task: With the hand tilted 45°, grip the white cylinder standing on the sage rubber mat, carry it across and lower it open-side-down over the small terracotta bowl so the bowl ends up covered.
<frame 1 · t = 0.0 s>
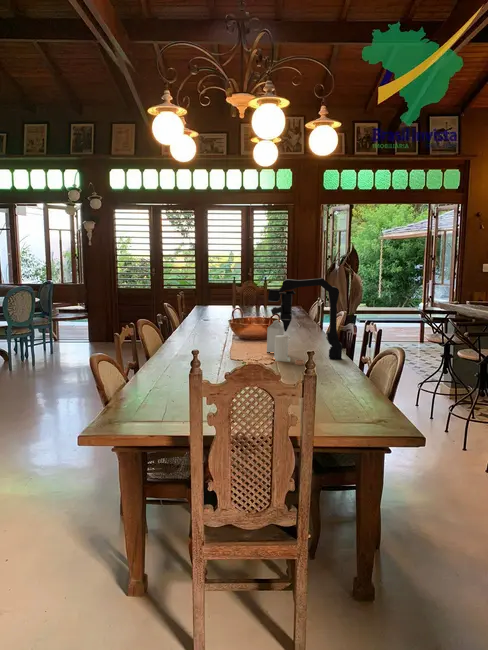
hand: (285, 330, 273), 15 cm above the table, tool pointing down, fingers open, 9 cm apart
mat: (280, 359, 266), on the table
bowl: (299, 364, 256), on the table
white cylinder: (280, 359, 266), resting on mat
milk carton: (274, 353, 282), on the table
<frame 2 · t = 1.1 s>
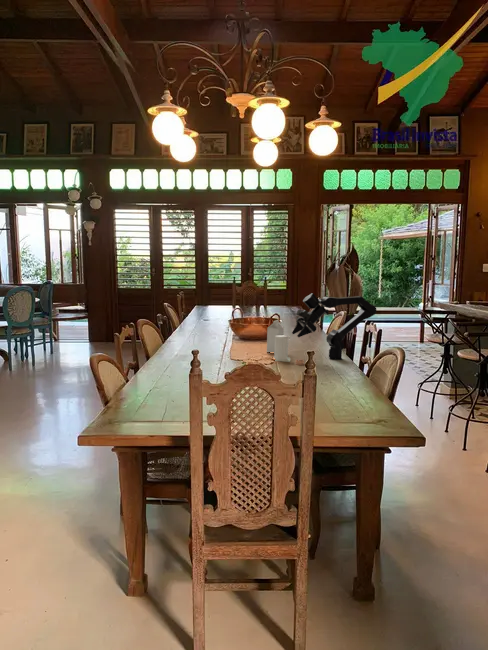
hand: (295, 335, 265), 13 cm above the table, tool tilted 45°, fingers open, 9 cm apart
nothing on the table moved.
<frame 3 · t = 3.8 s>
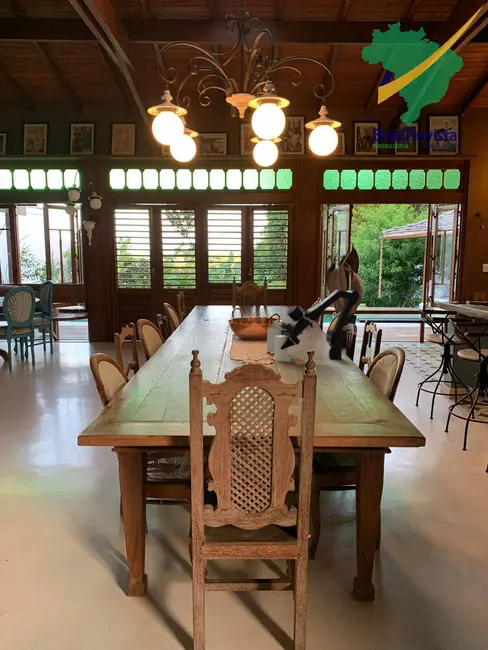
hand: (278, 347, 264), 7 cm above the table, tool tilted 45°, fingers closed on white cylinder, 7 cm apart
white cylinder: (280, 359, 266), resting on mat, touching gripper
everything else where it was.
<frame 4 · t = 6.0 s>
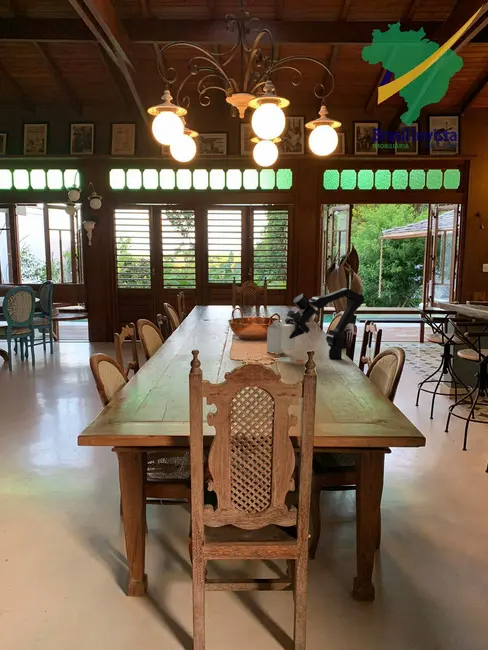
hand: (286, 337, 259), 13 cm above the table, tool tilted 45°, fingers closed on white cylinder, 7 cm apart
white cylinder: (288, 348, 260), point 7 cm above the table, touching gripper
everything else where it was.
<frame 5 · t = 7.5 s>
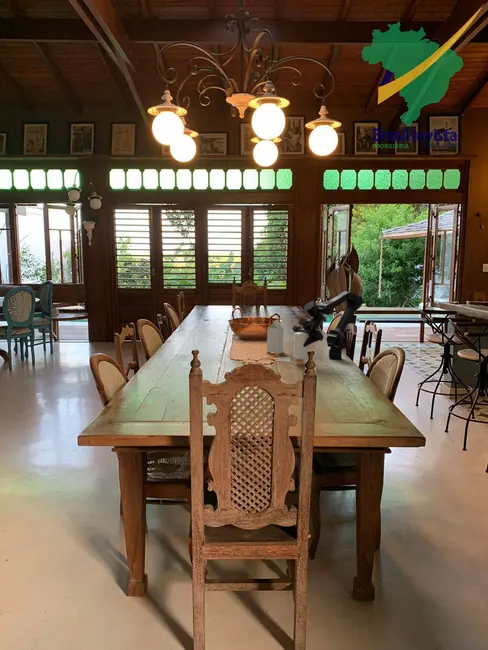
hand: (298, 345, 253), 10 cm above the table, tool tilted 45°, fingers closed on white cylinder, 7 cm apart
white cylinder: (300, 356, 255), point 4 cm above the table, touching gripper
everything else where it was.
when the fingers open (8 cm above the table, at t = 8.6 s): white cylinder drops 1 cm, on the table.
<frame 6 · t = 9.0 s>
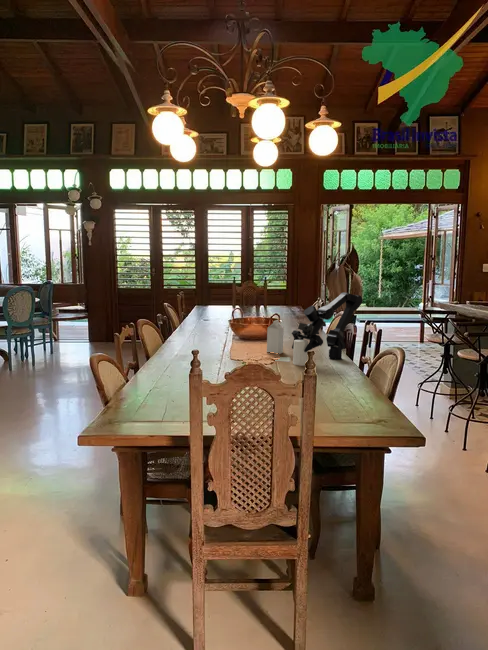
hand: (298, 350, 254), 8 cm above the table, tool tilted 45°, fingers open, 9 cm apart
white cylinder: (299, 364, 256), on the table
everything else where it was.
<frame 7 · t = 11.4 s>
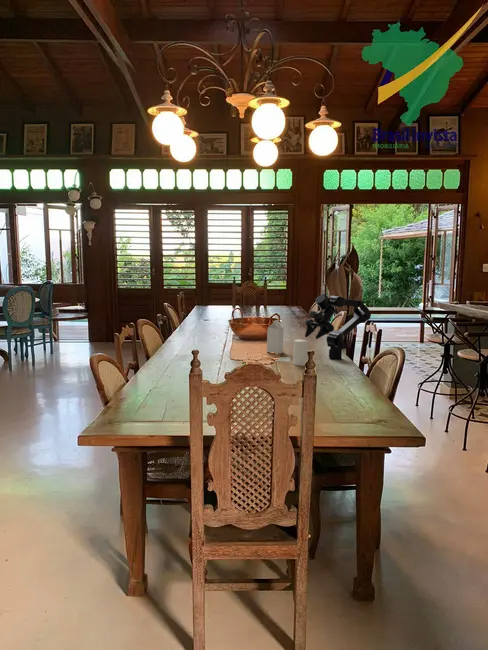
hand: (310, 337, 259), 13 cm above the table, tool tilted 40°, fingers open, 9 cm apart
nothing on the table moved.
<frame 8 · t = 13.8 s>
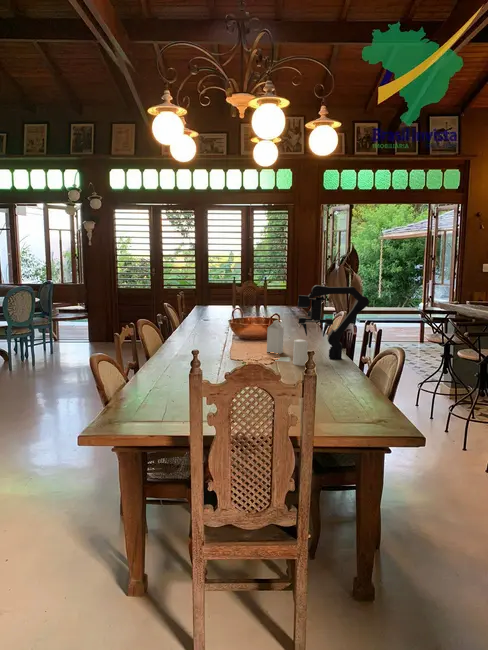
hand: (314, 336, 272), 12 cm above the table, tool pointing down, fingers open, 9 cm apart
nothing on the table moved.
at the end: white cylinder 0.0 cm from the bowl (horizontally); white cylinder on the table; white cylinder tilted 0° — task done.
